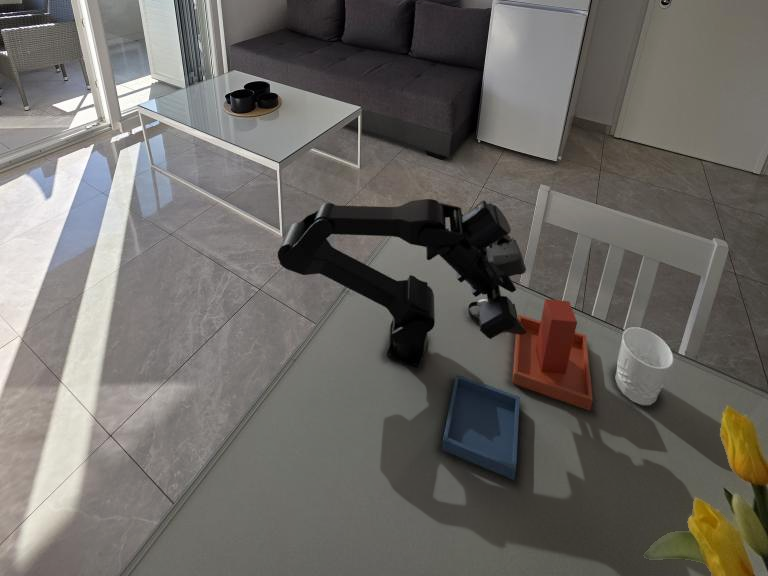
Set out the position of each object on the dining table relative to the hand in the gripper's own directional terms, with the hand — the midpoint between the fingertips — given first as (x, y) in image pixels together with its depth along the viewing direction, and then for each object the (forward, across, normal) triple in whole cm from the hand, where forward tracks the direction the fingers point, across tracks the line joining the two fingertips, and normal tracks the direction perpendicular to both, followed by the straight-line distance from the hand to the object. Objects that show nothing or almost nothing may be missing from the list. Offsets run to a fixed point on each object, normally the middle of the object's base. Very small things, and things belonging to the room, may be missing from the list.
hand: (519, 310), depth 80 cm
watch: (+6, +9, +12) cm, 16 cm away
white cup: (+25, -3, -7) cm, 26 cm away
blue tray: (+4, -13, +14) cm, 19 cm away
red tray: (+14, 0, +4) cm, 15 cm away
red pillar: (+14, 0, +3) cm, 14 cm away
